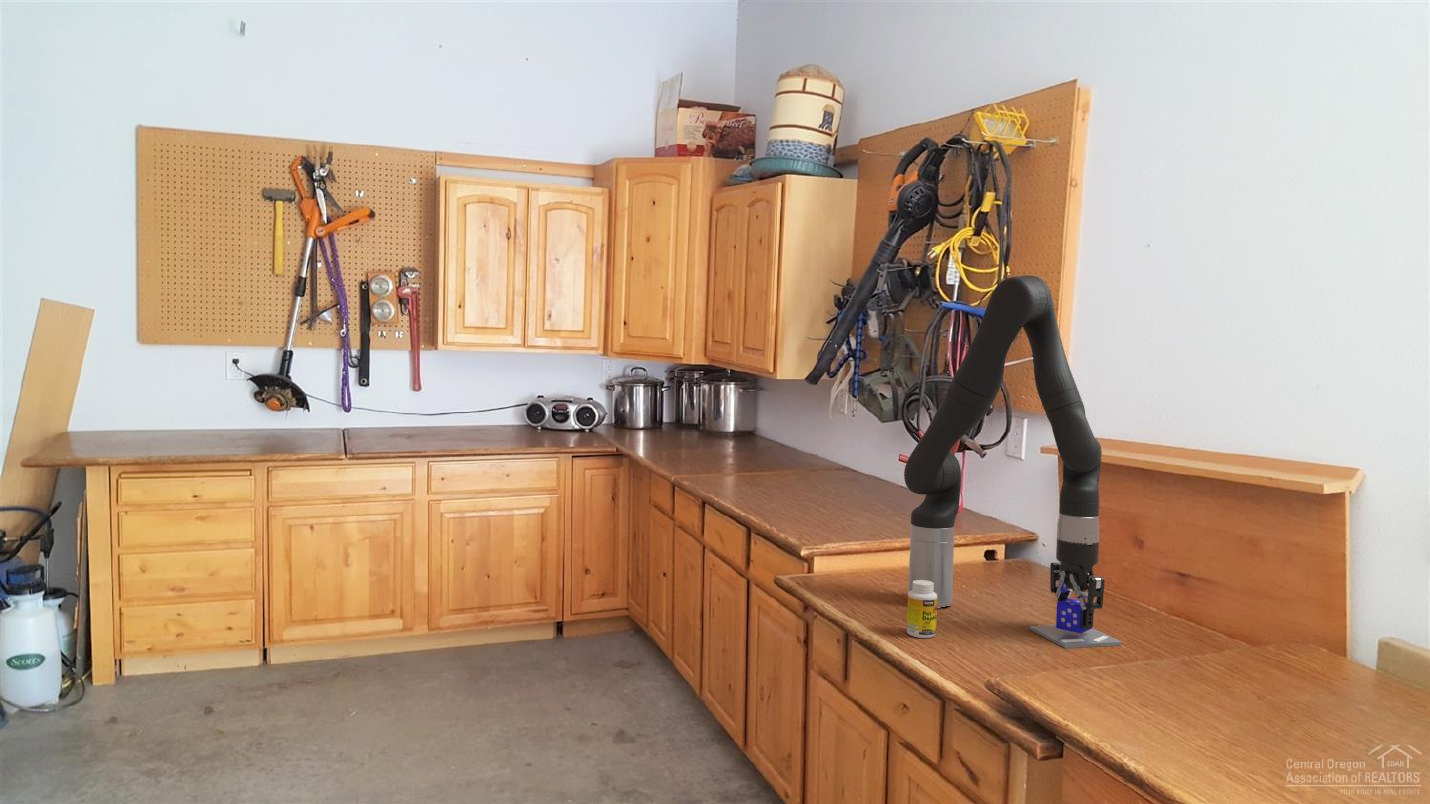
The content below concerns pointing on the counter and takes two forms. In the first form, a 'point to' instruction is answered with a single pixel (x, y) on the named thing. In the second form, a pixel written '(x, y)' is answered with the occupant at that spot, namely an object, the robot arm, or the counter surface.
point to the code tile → (1075, 637)
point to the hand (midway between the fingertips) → (1074, 623)
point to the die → (1069, 616)
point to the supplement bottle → (922, 610)
